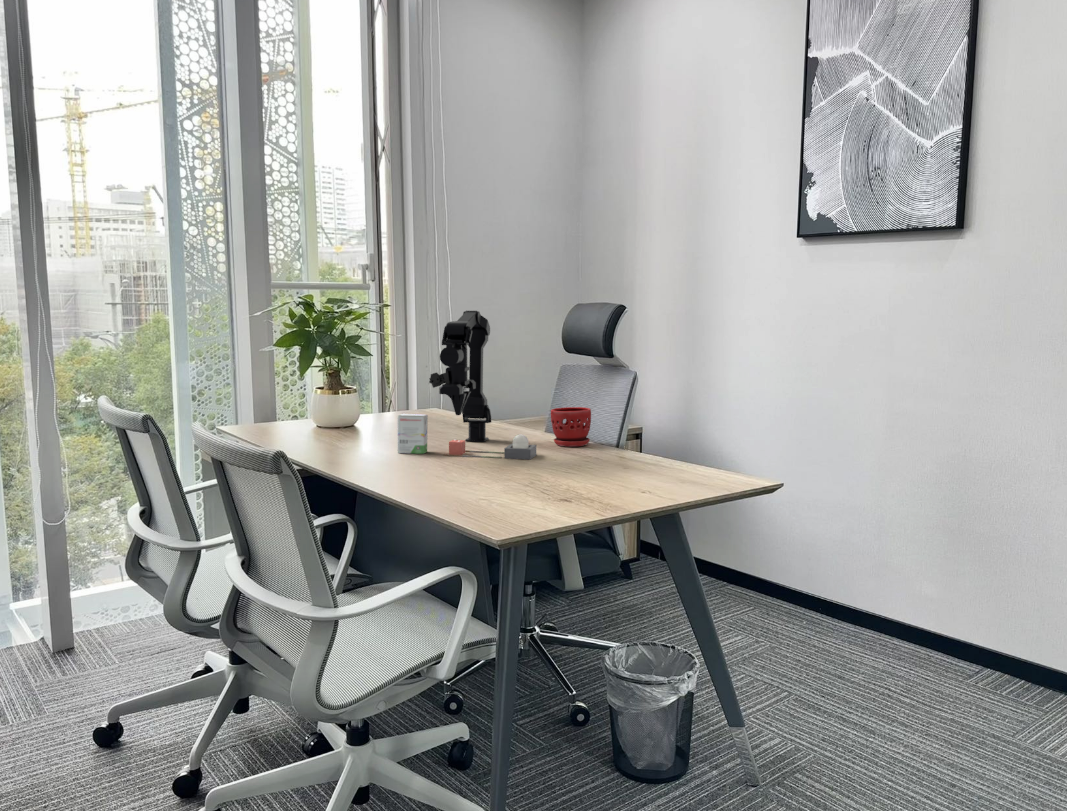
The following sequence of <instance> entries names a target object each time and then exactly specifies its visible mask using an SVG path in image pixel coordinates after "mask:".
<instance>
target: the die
mask: <svg viewBox="0 0 1067 811" xmlns="http://www.w3.org/2000/svg"><path fill="white" fill-rule="evenodd" d="M465 440H466V439H464V440H463V439H456V438H455V439H452V440H449V441H448V454H451V455H464V454H466V452H465V450H466V441H465Z"/></svg>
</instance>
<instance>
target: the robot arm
mask: <svg viewBox="0 0 1067 811" xmlns="http://www.w3.org/2000/svg"><path fill="white" fill-rule="evenodd" d="M488 320H489V319H488V318H486V317H484V316H483V315H481V312H480V311H478V310H465V311H463V313H462V315H461V316H460V317H459V318H458V320H455V321H448V322H447V323H446V325H445V326H444V327H443V328H444V330H443V334H442V340H441V345H442V346H445V347H444V348H442V350H441V351H440V353H439V360H440V362H441V363H442V364H443V365H444V366H446V368H445V372H443V373H440V374H439V373H438V372H434V373H431V374H430V377H429V382H428V383H429V384H431V386H432V388H433V389H434V388H437V387H439V391H438V392H439V395H445V396H447V397H449V399H451V403H452V407H453V410H454V413H455V414H454V415H455V416H461V414H462V421H463V422H462V423H463V424H465V423H468V437H467V438H466V439H464V440H465V442H477V443H479V442H480V443H482V442H483V443H484V442H486V441H488V440H489V438H490V437H488V436H487V437H486V435H487V434H486V433H487V432H486V429H487V427H486V425H487V424H491V423H492V414H491V409H490V407H489V404H488V399H487V397H486V396H485V393H484V390H483V389H484V388H483V387H484V386H483V384H484V383H483V382H484V348H485V346H486V344H487V343H488V342H489V336H490V334H491V325H490V322H489V321H488ZM468 348H469V366H468ZM468 371H469V372H468ZM468 373H469V375H468ZM468 376H469V377H468ZM467 389H468V390H467Z"/></svg>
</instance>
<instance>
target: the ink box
mask: <svg viewBox="0 0 1067 811" xmlns="http://www.w3.org/2000/svg"><path fill="white" fill-rule="evenodd" d="M428 417H429V415H428V414H420V413H419V414H417V413H415V414H414V413H401V414H398V415H397V454H417V455H419V454H420V455H423V454H426V453H427V452H428V425H429V424H428V422H429V421H428Z"/></svg>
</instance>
